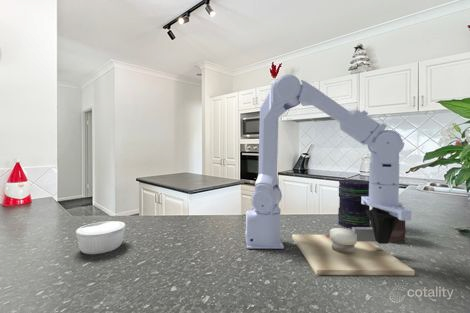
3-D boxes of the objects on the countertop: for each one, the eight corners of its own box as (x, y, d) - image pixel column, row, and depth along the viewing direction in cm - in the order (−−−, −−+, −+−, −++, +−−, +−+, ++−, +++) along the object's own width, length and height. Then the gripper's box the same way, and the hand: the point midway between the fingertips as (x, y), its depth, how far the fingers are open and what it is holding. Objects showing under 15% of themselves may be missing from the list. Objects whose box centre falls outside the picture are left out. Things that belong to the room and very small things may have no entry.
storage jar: (344, 219, 87) (345, 179, 86) (374, 225, 79) (375, 181, 79) (332, 224, 80) (333, 181, 79) (363, 232, 73) (365, 184, 72)
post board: (316, 274, 48) (316, 260, 47) (292, 237, 68) (292, 227, 67) (414, 275, 48) (414, 260, 48) (361, 238, 68) (361, 228, 68)
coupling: (336, 245, 54) (336, 232, 54) (326, 235, 60) (326, 224, 60) (389, 245, 55) (389, 232, 54) (374, 235, 61) (374, 224, 60)
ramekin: (107, 236, 68) (107, 218, 68) (135, 243, 63) (135, 224, 63) (65, 251, 58) (65, 230, 58) (94, 261, 53) (94, 237, 53)
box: (405, 243, 64) (406, 217, 64) (381, 242, 65) (382, 216, 65) (395, 235, 70) (395, 211, 70) (373, 234, 71) (373, 210, 71)
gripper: (427, 188, 46) (425, 257, 46) (381, 179, 60) (379, 231, 61) (391, 188, 46) (389, 256, 46) (353, 179, 60) (352, 231, 61)
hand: (382, 242), depth 53 cm, fingers closed
